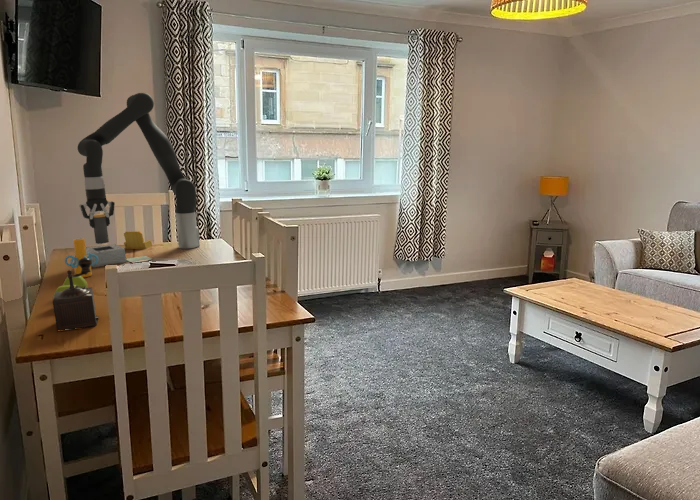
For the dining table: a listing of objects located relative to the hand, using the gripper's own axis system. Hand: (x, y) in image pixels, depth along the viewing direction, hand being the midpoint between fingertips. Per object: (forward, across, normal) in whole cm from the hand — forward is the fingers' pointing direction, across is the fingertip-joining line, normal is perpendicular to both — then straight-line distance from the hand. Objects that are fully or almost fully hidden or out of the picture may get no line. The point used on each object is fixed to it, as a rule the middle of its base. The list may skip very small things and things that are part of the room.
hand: (100, 226), depth 226 cm
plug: (+7, 0, 0) cm, 7 cm away
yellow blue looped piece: (+16, +13, +19) cm, 28 cm away
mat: (+16, -12, +7) cm, 21 cm away
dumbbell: (+16, +24, +50) cm, 58 cm away
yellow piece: (+16, -21, -20) cm, 33 cm away
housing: (+16, 0, 0) cm, 16 cm away
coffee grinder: (+16, +27, +73) cm, 79 cm away
